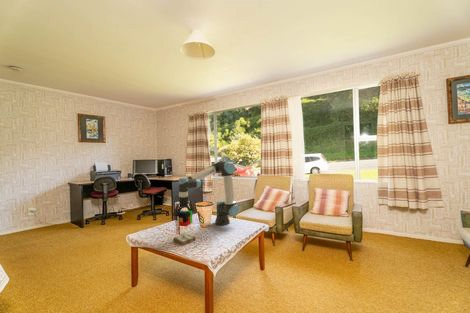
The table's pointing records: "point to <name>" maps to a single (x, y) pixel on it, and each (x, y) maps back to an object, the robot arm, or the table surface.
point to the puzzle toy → (184, 218)
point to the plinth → (184, 239)
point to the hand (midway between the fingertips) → (184, 222)
